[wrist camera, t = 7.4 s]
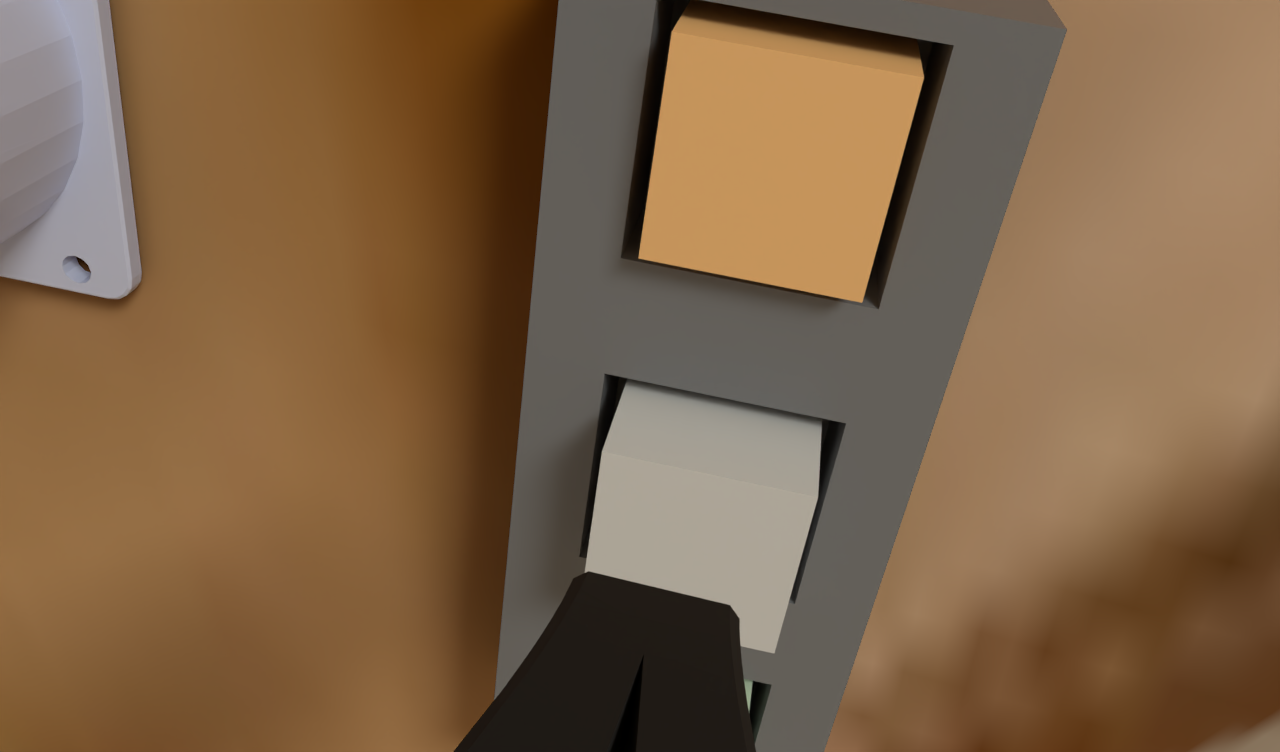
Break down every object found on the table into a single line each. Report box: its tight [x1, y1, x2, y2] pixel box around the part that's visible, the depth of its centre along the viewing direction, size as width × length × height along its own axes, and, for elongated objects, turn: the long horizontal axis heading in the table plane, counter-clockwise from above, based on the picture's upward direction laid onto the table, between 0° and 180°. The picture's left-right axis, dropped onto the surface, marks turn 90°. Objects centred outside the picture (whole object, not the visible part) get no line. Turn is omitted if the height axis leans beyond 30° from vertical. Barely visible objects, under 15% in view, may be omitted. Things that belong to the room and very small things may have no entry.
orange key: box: [638, 0, 924, 303], centre depth 15 cm, size 3×3×2 cm
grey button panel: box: [494, 0, 1067, 752], centre depth 18 cm, size 6×15×2 cm, turn 172°
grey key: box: [585, 378, 822, 653], centre depth 17 cm, size 3×3×2 cm
